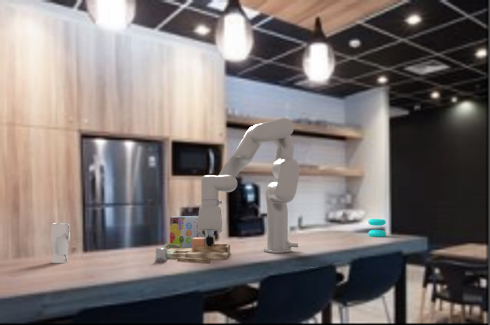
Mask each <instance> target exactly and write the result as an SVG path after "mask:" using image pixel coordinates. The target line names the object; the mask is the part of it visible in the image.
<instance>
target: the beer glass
mask: <svg viewBox="0 0 490 325" xmlns="http://www.w3.org/2000/svg"><path fill="white" fill-rule="evenodd" d="M70 239H71V225H70V223H69V222H55V223H54V222H53V223H51V229H50V244H51V249H52V250H51V251H52V257H51V264H55V265H56V264H65V263H68V262H69V257H68V250H69V244H70Z"/></svg>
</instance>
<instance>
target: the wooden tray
mask: <svg viewBox="0 0 490 325" xmlns="http://www.w3.org/2000/svg"><path fill="white" fill-rule="evenodd" d="M159 248H167V260H168V259H172V260H174V259H175V260H177V258H178V257H181V256H187V258H198V259H210V260H226V259H228V257H229V256H230V254H231V243H215V244H212V246H211V247H210V246H209V247H208V246H207V244H206V247H195V251H192V248H180V245H178V244H170V242H169V243H166V244H164V245H163V246H160V247H159ZM227 256H228V257H227Z"/></svg>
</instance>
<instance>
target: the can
mask: <svg viewBox="0 0 490 325" xmlns="http://www.w3.org/2000/svg"><path fill="white" fill-rule="evenodd" d="M167 262H168V259H167V248H160V247H156V248H155V263H167Z"/></svg>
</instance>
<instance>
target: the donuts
mask: <svg viewBox="0 0 490 325" xmlns="http://www.w3.org/2000/svg"><path fill="white" fill-rule="evenodd" d="M367 222H368V224H369V225H370V226H375V227H382V226H385V225H386V223H387V221H386V220H385V219H383V218H369V219H368V221H367ZM368 236H369V237H374V238H384V237H386V236H387V233H386V231H385V230H383V229H371V230H369V231H368Z"/></svg>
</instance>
